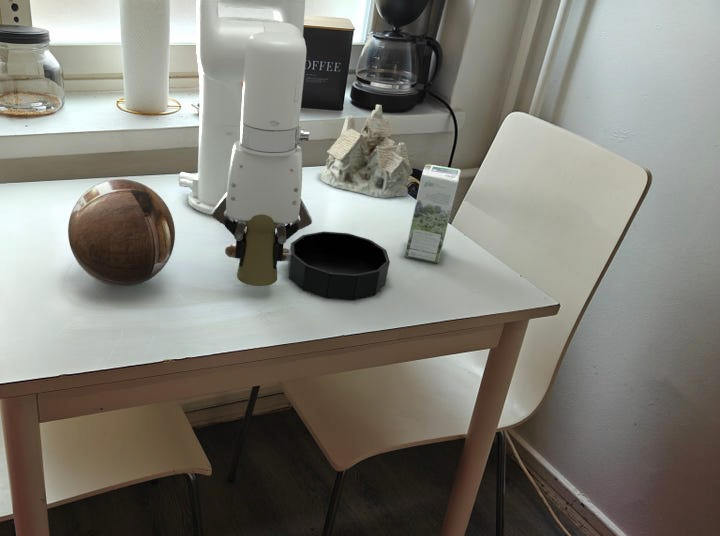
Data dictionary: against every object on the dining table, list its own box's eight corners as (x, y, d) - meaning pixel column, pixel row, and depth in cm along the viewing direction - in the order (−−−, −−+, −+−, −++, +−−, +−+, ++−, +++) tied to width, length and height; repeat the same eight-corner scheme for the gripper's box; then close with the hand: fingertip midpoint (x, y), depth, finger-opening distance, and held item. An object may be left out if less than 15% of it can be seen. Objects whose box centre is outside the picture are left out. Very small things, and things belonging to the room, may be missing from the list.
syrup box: (441, 250, 122) (462, 167, 113) (438, 264, 117) (458, 179, 109) (408, 244, 123) (425, 161, 115) (403, 258, 118) (421, 173, 110)
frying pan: (221, 290, 105) (222, 265, 103) (226, 247, 117) (227, 224, 115) (390, 303, 105) (395, 278, 103) (377, 258, 117) (381, 235, 115)
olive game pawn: (273, 289, 101) (281, 216, 95) (232, 282, 102) (237, 210, 96) (280, 270, 106) (287, 200, 100) (240, 264, 107) (245, 194, 101)
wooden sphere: (54, 271, 106) (45, 174, 98) (141, 250, 114) (139, 158, 106) (102, 315, 97) (97, 212, 89) (193, 288, 105) (197, 191, 96)
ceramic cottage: (313, 170, 150) (327, 98, 141) (384, 171, 154) (402, 102, 145) (338, 203, 139) (354, 127, 129) (414, 203, 143) (435, 130, 134)
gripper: (330, 133, 96) (314, 256, 106) (206, 124, 96) (202, 248, 106) (334, 150, 90) (317, 279, 100) (202, 141, 90) (198, 271, 100)
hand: (258, 262), depth 103 cm, fingers closed on olive game pawn, 4 cm apart
